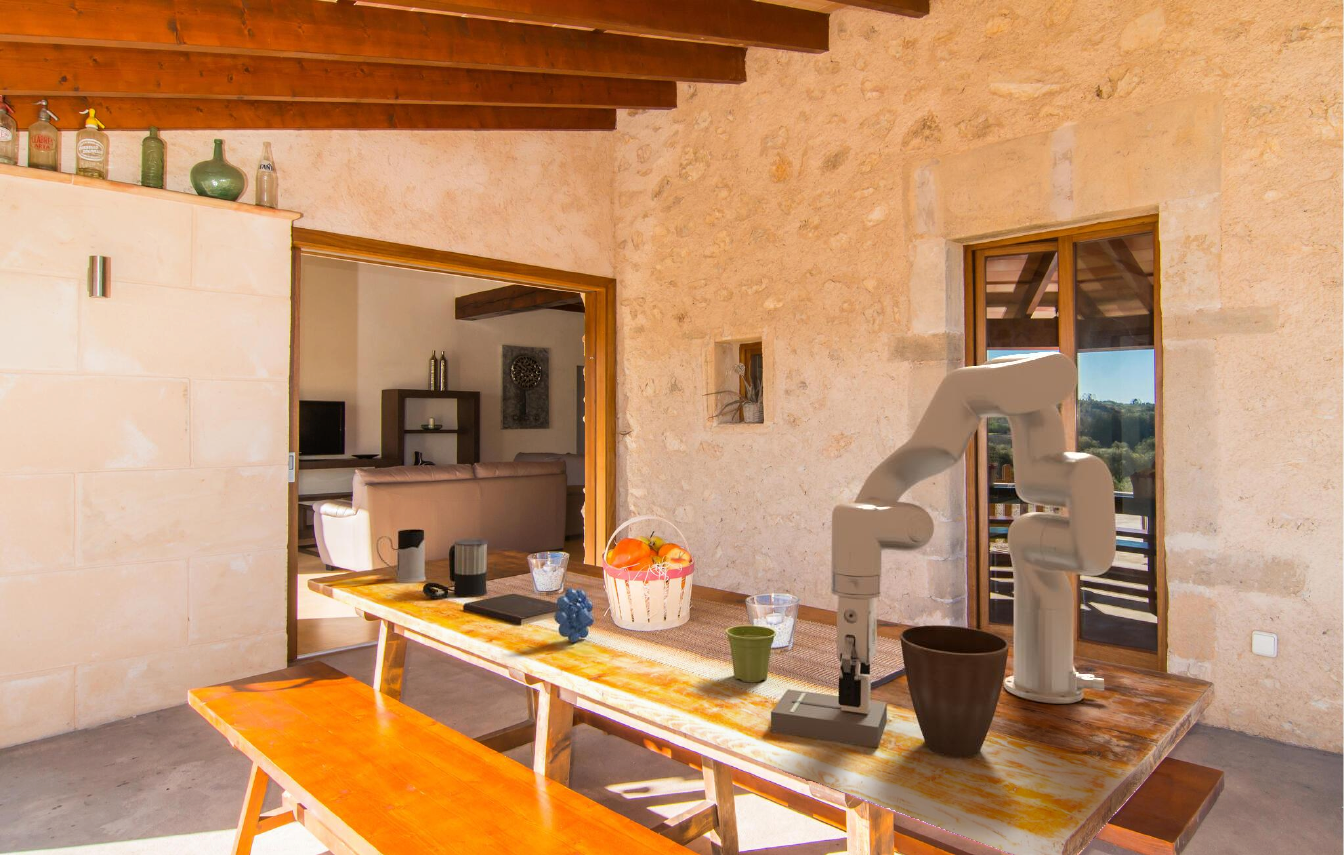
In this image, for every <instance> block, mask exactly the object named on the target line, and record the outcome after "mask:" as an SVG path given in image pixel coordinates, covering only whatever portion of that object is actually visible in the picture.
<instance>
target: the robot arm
mask: <svg viewBox="0 0 1344 855" xmlns="http://www.w3.org/2000/svg"><path fill="white" fill-rule="evenodd" d="M1078 381H1079V372H1078V369H1077V366H1076V364H1075V362H1074V361H1073V360H1072V359H1071V357H1069V356H1067V355H1066V354H1064V353H1061V352H1056V351H1050V352H1049V351H1047V352H1037V353H1029V354H1013V355H1007V356H1005V355H1004V356H999V357H994V358H991V359H990V360H989V359H988V360H987V361H984V362H983V363H982V364H981V365H976V366H972V365H971V366H964V367H960V368H956V369H953V370H951V371H949V372H948V373H947V374H946V375H945V376H944V377H943V379H942V380H941V382H940V384H939V386H938V387H937V389H936V390H935V393H934V394H933V397H932V398H931V399H930V402H929V404H928V406H927V408H926V409H925V412H924V413H923V415H922V417H921V419H920V421H919V422H918V424H917V426H916V428H915V430H914V432H913V434H912V435H911V437H910V438H909V439H907V441H906V442H905V443H903V444H902V445H900V446H899V447H898V448H897V449H896V450H894V451H893V452H892V453H891V454H889V455H888V456H887V457H886V458H885V459H883V461H881V462H880V463H879V464H878V465H877V466H876V467H875V468H874V469H873V470H872V471H871V473H870V474H869V475H868V476H867V478H866V480H865V481H864V482H863V485H862V487H861V489H860V490H859V492H858V494H857V496H856V497H855V499H854V502H853V503H852V502H846V503H839V504H837V505H835V506H834V508H833V510H832V512H831V565H830V566H831V569H830V570H831V571H830V575H831V576H830V580H831V581H830V592H831V594H832V595H834V596H837V609H836V610H837V611H836V614H837V616H836V658H837V660H838V661H839V662H840V665H839V666H840V668H839V672H838V674H839V677H838V695H837V696H838V703H839V704H840V705H844V706H851V707H860V705H861V680H860V679H859V674H867V675H871V663H872V662H873V660H874V657H875V655H876V653H877V652H878V651H877V650H878V640H877V639H878V637H877V636H878V635H877V605H876V604H877V602H876V598H880V597H881V596H882V555H883V554H882V553H883V552H882V551H884V550H890V551H900V552H914V551H917V550H920V549H922V548H923V547H925V546H926V545H927V544H928V543H929V542H930V541H931V539H932V538H933V535H934V530H935V529H934V528H935V527H934V526H935V524H934V521H933V518H932V516H931V515H930V513H929V512H928V511H927V510H926V509H925V508H923V507H921V506H919V505H917V504H914V503H911V502H905V501H903V502H902V501H899V500H900V499H901V498H902V496H903V495H905V493H906V492H907V491H908V490H909V489H911V488H913V487H914V486H915V485H917V484H919V483H920V482H922V481H924V480H927V479H930V478H931V477H934V476H937V475H940V474H942V473H945V472H946V471H949V470H951V469H953V468H955V467H956V466H957V465H958V464H959V463H960V462H961V461H962V459H963V457H964V455H965V453H966V451H967V449H968V448H969V445H970V443H971V441H972V439H973V437H974V436H975V433H976V431H977V429H978V428H979V426H980V424H981V423H982V420H983V419H985V418H1006V420H1007V422H1008V425H1009V429H1010V432H1011V433H1010V434H1011V442H1012V443H1011V444H1012V447H1011V448H1012V461H1013V462H1012V465H1013V480H1014V488H1015V492H1016V495H1017V496H1018V497H1019V499H1021V501H1022V502H1025V503H1027V504H1031V505H1035V506H1041V507H1050V508H1056V509H1057V508H1059V509H1067V514H1068V515H1066V514H1065V515H1064V514H1058V513H1051V512H1050V513H1049V512H1039V511H1036V512H1035V511H1034V512H1027V513H1024V514H1021V515H1019V516H1017V517H1016V518H1015V519H1014V520H1013V521H1012V522H1011V524H1010V526H1009V528H1008V532H1007V545H1008V551H1009V555H1010V556H1009V557H1010V560H1011V566H1012V573H1013V675H1010V676H1007V677H1006V678H1004V680H1003V686H1004V688H1005V690H1006V691H1007V692H1009V693H1010V694H1012V695H1015V697H1019V698H1022V699H1025V700H1030V701H1034V702H1037V703H1039V702H1040V703H1046V704H1055V705H1056V704H1059V705H1060V704H1061V705H1062V704H1063V705H1065V704H1074V703H1077V702H1079V701H1081V700H1082V699H1083V698H1084V688H1085V689H1091V690H1097V691H1105V680H1104V678H1099V677H1095V675H1093V674H1083V673H1082V674H1081V673H1080V674H1079V672H1077V670H1076V668H1075V666H1074V665H1075V664H1074V607H1075V606H1074V604H1075V603H1074V600H1075V599H1074V591H1073V587H1072V585H1071V582H1070V580H1069V578H1068V576H1067V573H1069V574H1070V573H1071V574H1076V575H1083V576H1091V577H1092V576H1094V577H1095V576H1100V575H1102V574H1104V573H1106V572H1107V571H1108V570H1109V569H1110V568H1111V566H1112V565H1113V563H1114V560H1115V556H1116V553H1117V552H1116V551H1117V550H1116V549H1117V529H1116V528H1117V527H1116V508H1115V506H1116V505H1115V502H1116V501H1115V488H1114V486H1115V485H1114V481H1113V480H1114V479H1113V476H1112V473H1111V471H1110V469H1109V467H1108V465H1107V464H1106V463H1105V462H1104V461H1103V460H1102V458H1100V457H1099V456H1096V455H1094V454H1090V453H1083V452H1069V451H1068V449H1067V442H1066V431H1065V424H1064V421H1063V418H1062V415H1061V413H1060V411H1059V410H1058V407H1057V406H1056V405H1060V404H1062V403H1064V402H1065V401H1067V400H1068V399H1069V398H1071V396H1072V395H1073V393H1074V392H1075V391H1076V389H1077V385H1078Z"/></svg>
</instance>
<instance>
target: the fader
mask: <svg viewBox="0 0 1344 855" xmlns="http://www.w3.org/2000/svg"><path fill="white" fill-rule="evenodd" d="M871 678H872V677H871V674H870V675H867V674H859V679H860V680H861V705H860V707H851V706H844V705H841V710H844V711H851V712H858V713H866V714H868V712H869V710H870V707H871V698H872V697H871V693H872V692H871V684H872V682H871V681H872V680H871Z"/></svg>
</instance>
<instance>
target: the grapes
mask: <svg viewBox="0 0 1344 855" xmlns="http://www.w3.org/2000/svg"><path fill="white" fill-rule="evenodd" d="M587 595H588V594H587V592H586V591H585V590H584V589H581V588H580V589H577V590H576V589H575V588H573V587H568V588H567V589H566V590H565V592H564V595H561V596H559V597H558V598H557V600H556V603H557V606H558V607H559V609H561V610H558V611H556V613H555V615H554V617H553V619H554V621H555V622H556V624H559V626H558V629H557V631H558V633H559V636H562V637H563V638H567V639H568V641H569V642H571V643H576V642H579V640H580V639H586V638H587V637H588V635H589V632H590V631H589V628H588V627H591V626H593V624H594V622H595V618H594V616H593V615H592V613H590V612H592V611H593V609H594V604H593V602H592V600H590V599H589V598H588V596H587Z"/></svg>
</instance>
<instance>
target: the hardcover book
mask: <svg viewBox="0 0 1344 855" xmlns="http://www.w3.org/2000/svg"><path fill="white" fill-rule="evenodd" d="M462 606H463V607H462V609H463V612H467V613H472V614H474V615H478V616H479V615H480V616H483V617H487V618H491V619H494V620H498V621H502V622H505V623H510V624H513V625H517V626H520V627H521V626H523V625H527V624H532V623H536V622H540V621H544V620H548V619H551V618H553V619H554V615H555V613H556V611H558V610H561V609H559V607H558V606H557V602H554V601H550V600H549V601H548V600H544V599H539V598H535V597H530V596H526V595H522V594H518V593H509V594H504V595H499V596H494V597H493V596H492V597H489V598H484V599H479V600H474V601H470V602H465V603H464V604H463V605H462Z"/></svg>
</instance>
